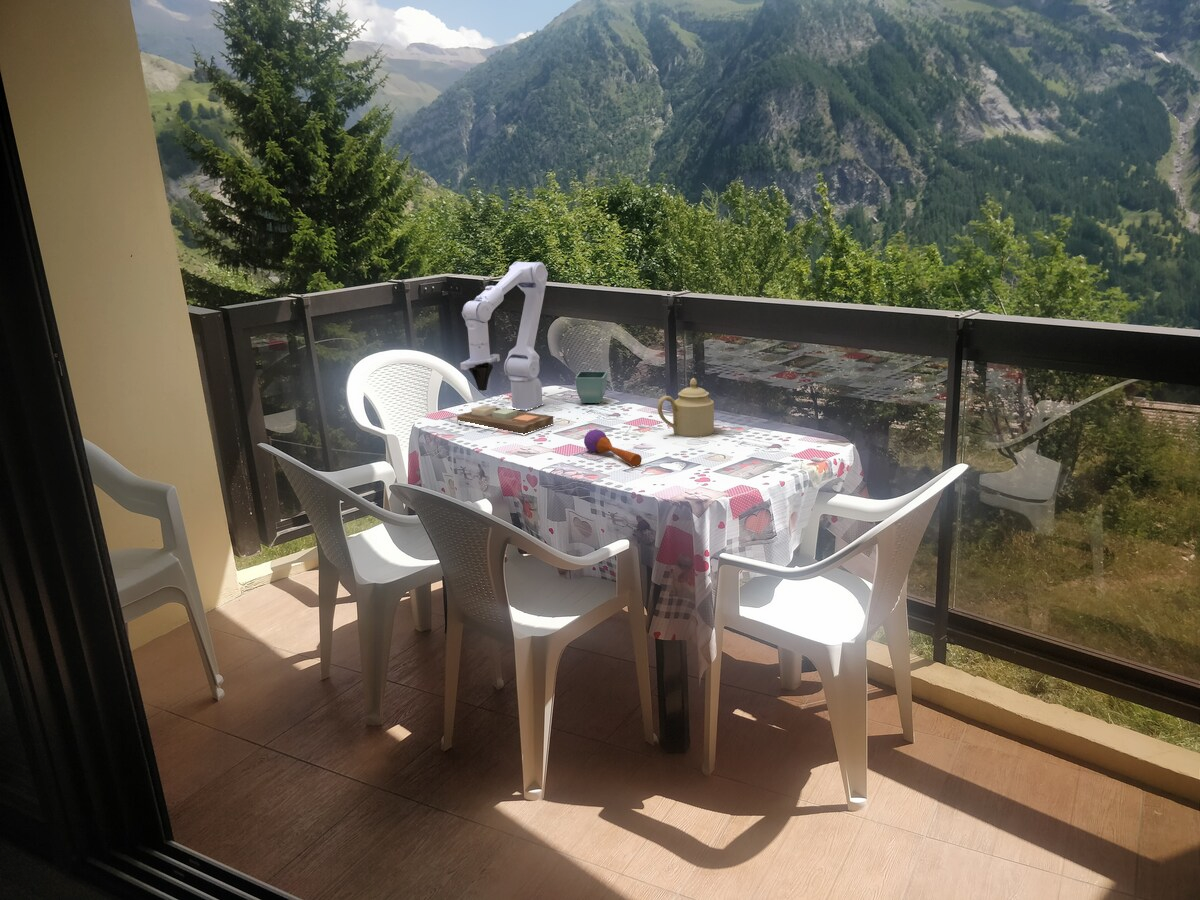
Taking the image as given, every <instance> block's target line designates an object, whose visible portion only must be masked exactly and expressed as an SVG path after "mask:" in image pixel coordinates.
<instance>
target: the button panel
mask: <svg viewBox="0 0 1200 900" xmlns="http://www.w3.org/2000/svg"><path fill="white" fill-rule="evenodd" d="M500 409H503V408H500V407H496V411H497V410H500ZM522 415H531V416H538V417H539V419H538V420H535V421H532V422H530V423H523V422H517V421H514V418H517V417H519V416H522ZM456 419H457V421H458V420H460V421H465V422H470V423H475V424H479V425H484V426H488V427H494V428H498V429H503V430H508V431H513V432H518V433H523V434H525V433H528V432H531V431H534V430H537V429H539V428H542V427H545V426H548V425H551V424H553V425H554V416H553V415H546V414H540V413H535V412H534V413H533V412H529V411H519V410H517V416H515V417H512V418H509V419H506V420H504V419H498V418H492V414H490V415H487V416H479V415H473V414H472V411H469V412H466V413H463V414H459V415H457V416H456ZM551 426H552V425H551Z"/></svg>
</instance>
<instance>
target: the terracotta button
mask: <svg viewBox="0 0 1200 900" xmlns="http://www.w3.org/2000/svg"><path fill="white" fill-rule="evenodd" d="M538 419H539V417H538V416H531V415H522V416H519V417H517V418H514V421H517V422H523V423H530V422H532V421H535V420H538Z"/></svg>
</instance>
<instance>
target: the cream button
mask: <svg viewBox="0 0 1200 900" xmlns="http://www.w3.org/2000/svg"><path fill="white" fill-rule="evenodd" d="M496 408H497V407H496V406H493V405H491V406H490V405H486V404H485V405H479V406H476V407H473V408H471V410H470V412H472V414H473V415H479V416H487V415H490V414H492V412H494V411H496Z"/></svg>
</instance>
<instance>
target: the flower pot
mask: <svg viewBox="0 0 1200 900" xmlns="http://www.w3.org/2000/svg"><path fill="white" fill-rule="evenodd" d="M607 379H608V371H587V370H586V371H579V372H578V373H577V374H576V376H575V377H574V381H575V386H576V387H575V388H576V391H577V395H578V398H579V399H580V400H579V401H580V402H581V403H582V404H583V403H599V404H600V403H601V402H602V400H603V399H604V395H605V392H606V390H607V385H608V384H607V382H608V380H607Z"/></svg>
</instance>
